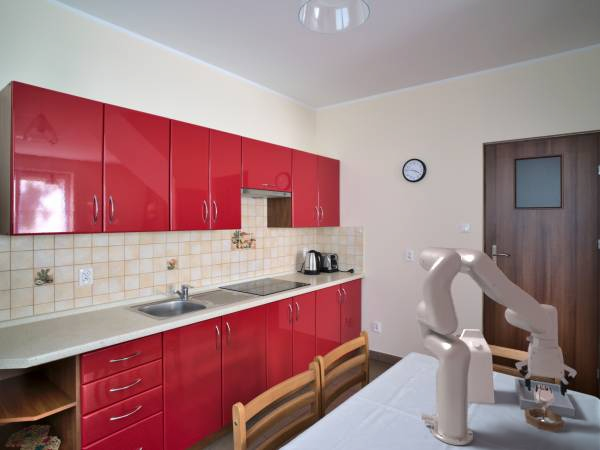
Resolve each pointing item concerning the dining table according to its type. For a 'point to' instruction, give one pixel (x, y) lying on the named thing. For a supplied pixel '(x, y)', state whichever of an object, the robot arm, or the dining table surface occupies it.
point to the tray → (526, 400)
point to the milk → (479, 368)
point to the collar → (543, 425)
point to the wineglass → (543, 398)
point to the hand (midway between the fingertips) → (545, 391)
